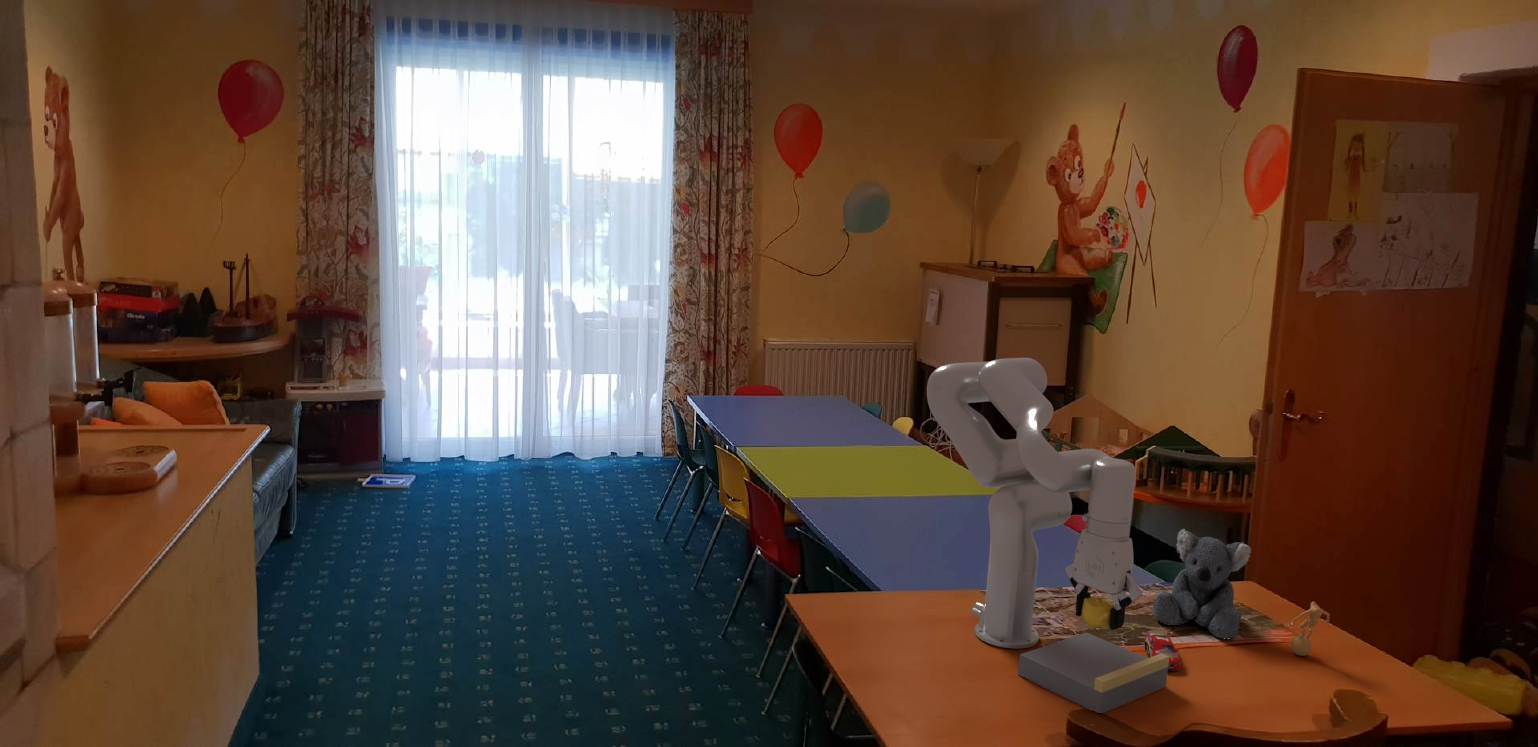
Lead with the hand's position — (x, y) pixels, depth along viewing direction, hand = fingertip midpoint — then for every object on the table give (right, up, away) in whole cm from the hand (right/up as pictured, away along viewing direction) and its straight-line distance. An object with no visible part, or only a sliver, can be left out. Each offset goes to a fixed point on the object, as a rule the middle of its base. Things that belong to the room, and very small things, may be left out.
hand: (1098, 620), depth 199 cm
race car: (+16, -11, +14) cm, 24 cm away
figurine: (+46, -12, +18) cm, 51 cm away
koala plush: (+32, -8, +35) cm, 48 cm away
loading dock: (-1, -12, +2) cm, 12 cm away
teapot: (0, -1, 0) cm, 1 cm away
